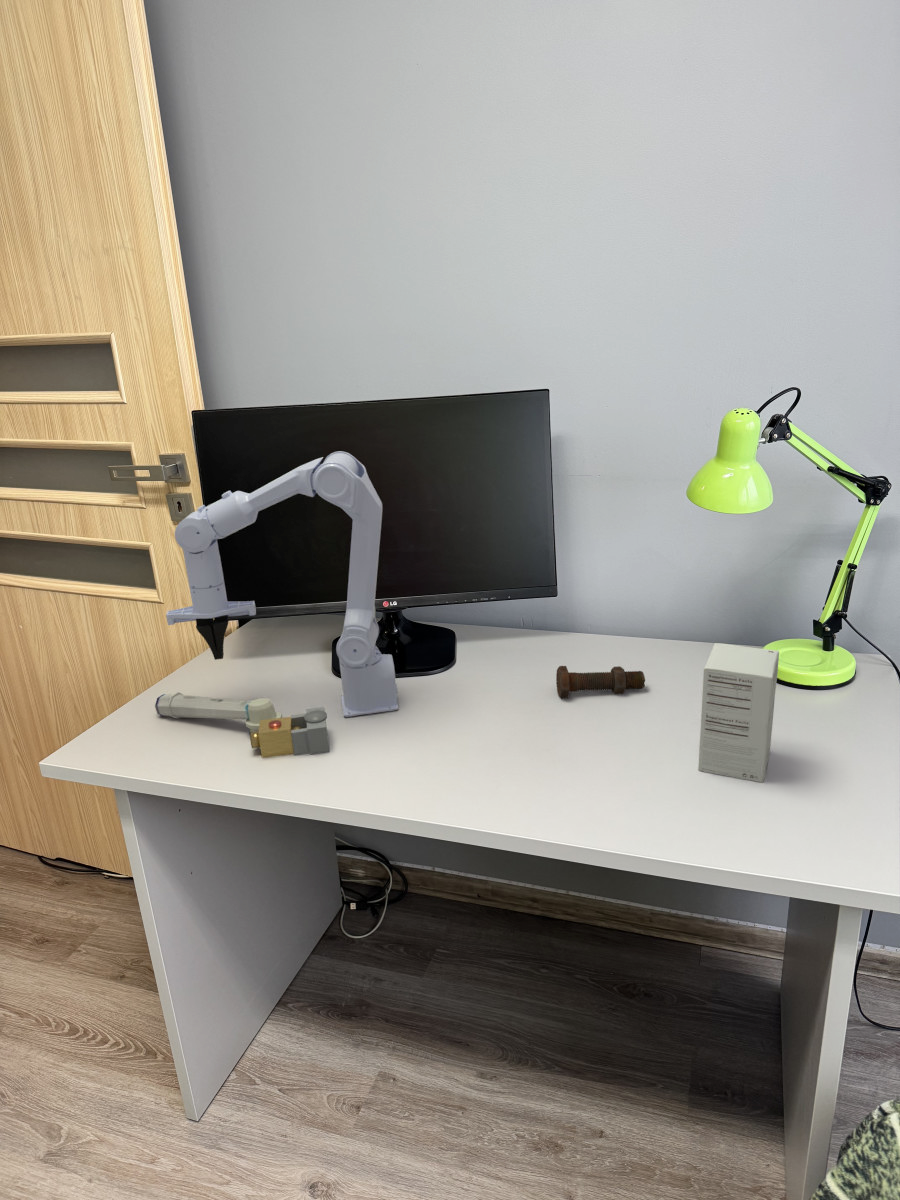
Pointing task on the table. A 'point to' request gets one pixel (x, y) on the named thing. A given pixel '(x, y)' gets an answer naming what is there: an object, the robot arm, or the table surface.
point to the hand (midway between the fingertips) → (219, 657)
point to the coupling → (310, 732)
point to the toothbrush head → (216, 708)
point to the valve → (274, 737)
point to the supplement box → (738, 711)
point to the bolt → (598, 681)
